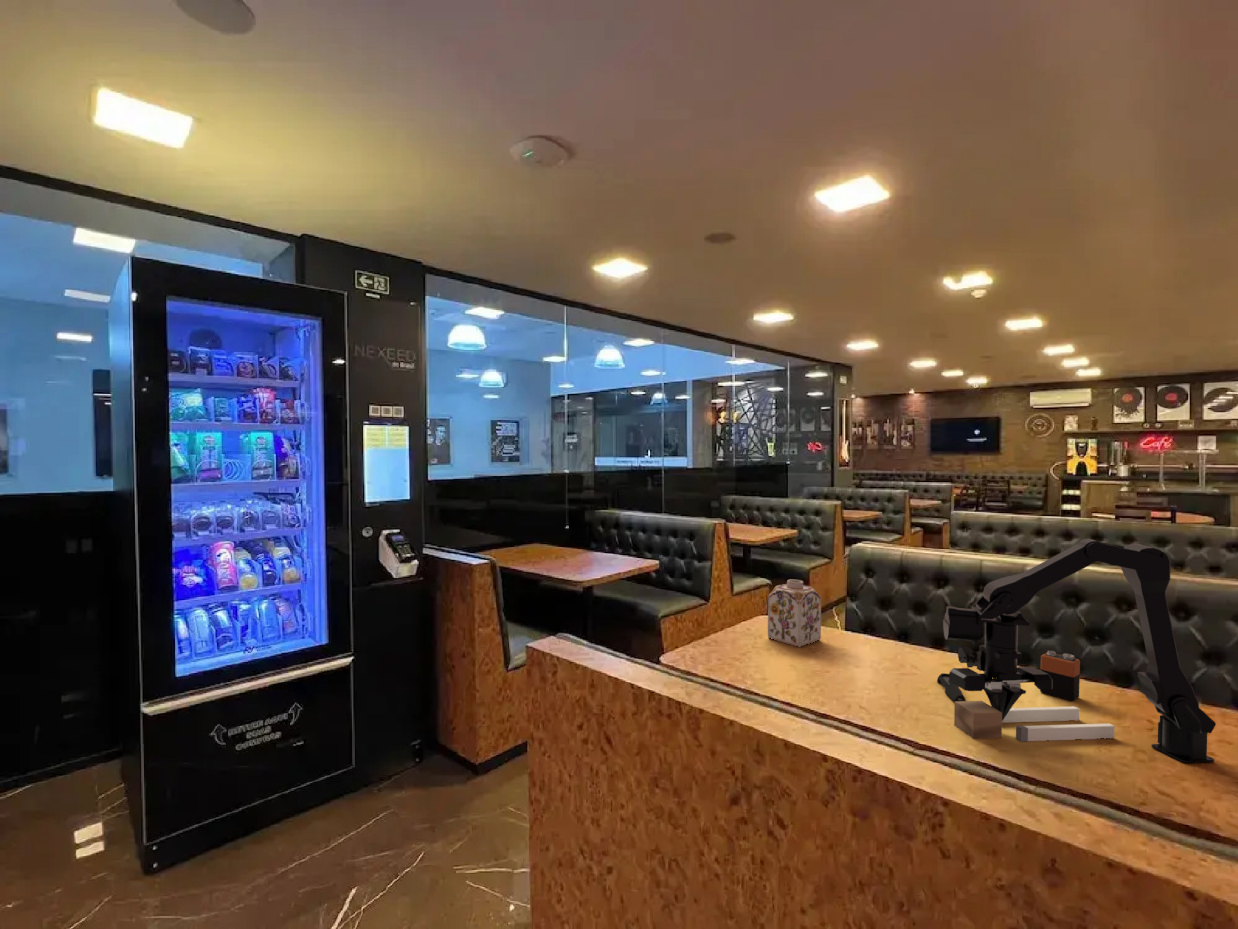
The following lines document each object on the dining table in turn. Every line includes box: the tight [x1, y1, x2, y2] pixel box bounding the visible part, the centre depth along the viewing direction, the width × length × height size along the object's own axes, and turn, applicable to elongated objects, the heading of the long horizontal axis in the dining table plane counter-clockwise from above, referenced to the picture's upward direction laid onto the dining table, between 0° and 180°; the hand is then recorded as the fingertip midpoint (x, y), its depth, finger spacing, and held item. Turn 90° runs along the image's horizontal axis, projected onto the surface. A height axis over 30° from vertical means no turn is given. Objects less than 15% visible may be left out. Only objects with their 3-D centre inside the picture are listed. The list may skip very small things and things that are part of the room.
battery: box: [1039, 650, 1081, 702], centre depth 146 cm, size 4×7×10 cm, turn 37°
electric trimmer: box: [936, 672, 967, 703], centre depth 146 cm, size 4×16×3 cm, turn 164°
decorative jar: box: [767, 578, 822, 648], centre depth 187 cm, size 12×12×18 cm
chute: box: [1002, 706, 1115, 743], centre depth 127 cm, size 10×20×3 cm, turn 95°
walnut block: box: [953, 700, 1003, 739], centre depth 126 cm, size 6×6×5 cm
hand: (999, 720), depth 126 cm, fingers closed
